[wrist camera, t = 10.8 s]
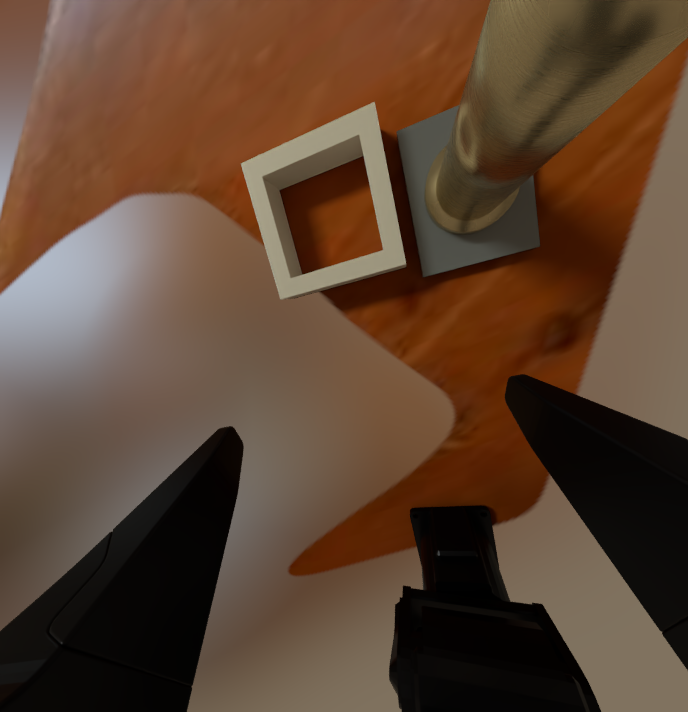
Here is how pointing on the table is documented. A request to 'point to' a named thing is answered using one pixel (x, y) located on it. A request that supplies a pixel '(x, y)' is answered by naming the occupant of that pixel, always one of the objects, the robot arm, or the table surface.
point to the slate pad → (450, 249)
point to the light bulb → (540, 94)
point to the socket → (310, 159)
